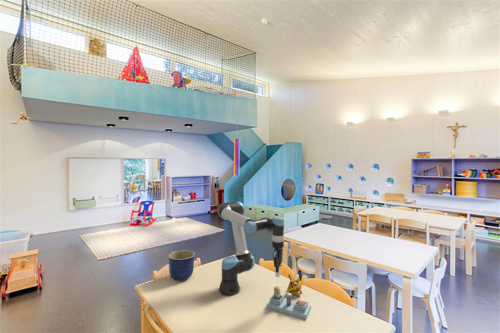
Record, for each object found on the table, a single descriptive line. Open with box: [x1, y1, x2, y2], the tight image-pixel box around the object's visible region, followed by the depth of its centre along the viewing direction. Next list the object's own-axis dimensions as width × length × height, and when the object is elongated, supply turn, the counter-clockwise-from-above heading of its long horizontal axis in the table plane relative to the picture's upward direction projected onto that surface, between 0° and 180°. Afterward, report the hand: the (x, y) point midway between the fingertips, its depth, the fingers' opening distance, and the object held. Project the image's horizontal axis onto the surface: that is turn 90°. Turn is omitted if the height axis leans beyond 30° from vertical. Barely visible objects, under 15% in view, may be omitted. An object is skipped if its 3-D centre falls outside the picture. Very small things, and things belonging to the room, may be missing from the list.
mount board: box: [266, 293, 312, 320], centre depth 160 cm, size 26×12×6 cm, turn 64°
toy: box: [286, 274, 303, 297], centre depth 180 cm, size 14×10×15 cm
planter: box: [168, 249, 196, 282], centre depth 202 cm, size 21×21×19 cm
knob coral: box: [297, 297, 306, 306], centre depth 157 cm, size 4×4×7 cm
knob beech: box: [273, 285, 282, 300], centre depth 164 cm, size 4×4×7 cm
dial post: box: [285, 292, 293, 306], centre depth 160 cm, size 4×4×7 cm
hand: (277, 276), depth 164 cm, fingers closed
